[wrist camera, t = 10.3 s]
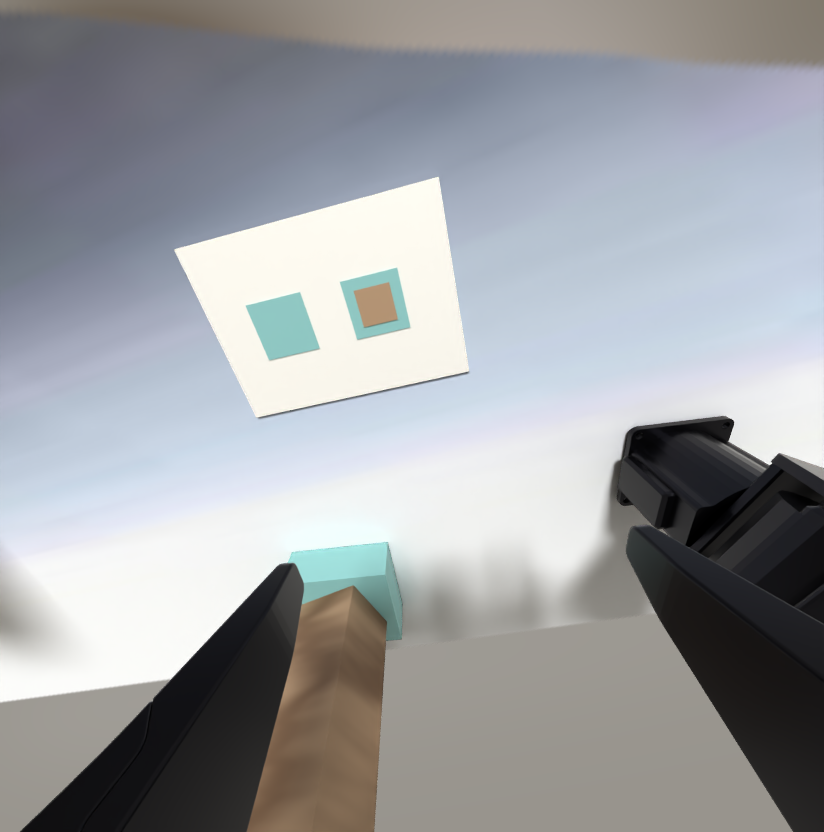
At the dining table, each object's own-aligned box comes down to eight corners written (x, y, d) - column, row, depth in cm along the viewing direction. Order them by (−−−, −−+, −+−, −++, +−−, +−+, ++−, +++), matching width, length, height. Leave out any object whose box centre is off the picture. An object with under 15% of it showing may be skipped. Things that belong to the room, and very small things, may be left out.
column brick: (353, 584, 24) (308, 849, 13) (387, 621, 26) (371, 878, 15) (298, 605, 25) (215, 867, 14) (335, 639, 27) (286, 891, 16)
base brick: (387, 542, 26) (385, 574, 24) (402, 604, 30) (401, 639, 27) (292, 552, 27) (278, 585, 24) (317, 612, 30) (308, 647, 28)
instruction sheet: (438, 177, 16) (438, 176, 15) (468, 370, 20) (469, 371, 20) (176, 249, 17) (172, 249, 17) (257, 416, 21) (255, 418, 21)
